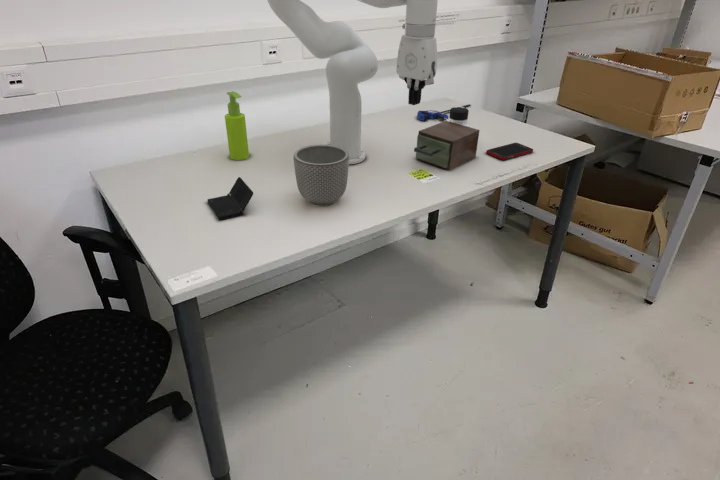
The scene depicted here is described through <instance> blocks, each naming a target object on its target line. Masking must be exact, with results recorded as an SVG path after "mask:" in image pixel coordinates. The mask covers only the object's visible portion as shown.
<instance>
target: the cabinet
mask: <svg viewBox="0 0 720 480" xmlns="http://www.w3.org/2000/svg"><path fill="white" fill-rule="evenodd" d="M480 131H481V130H480V129H477V128H475V127H471V126H470V127H467V126H463V125H460V124H456V123H453V122H449V121H446V120H443V121H442V122H439V123H436V124H434V125H430V126H428V127H426V128H423V129H419V130H418V134H417V136H418V135H423V136H424V135H425V136H429V137H432V138H435V139H438V140H442V141H445V142H448V143H451V146H450V155H449V163H448V167H447V168H444V167H441V166H439V165H436V164H433V163H430V162H427V161H424V160H421V159H418V158H416V157H415V159H416V160H418V161H421V162H424V163H427V164H430V165H433V166H436V167H439V168H442V169H444V170H446V171H447V170H448V171H451V170H453V169H455V168H457V167H459V166H461V165H463V164H466V163H467V162H469V161H472V160H474V159H475V158H476V157H477V150H478V143H479V137H480Z"/></svg>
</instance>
